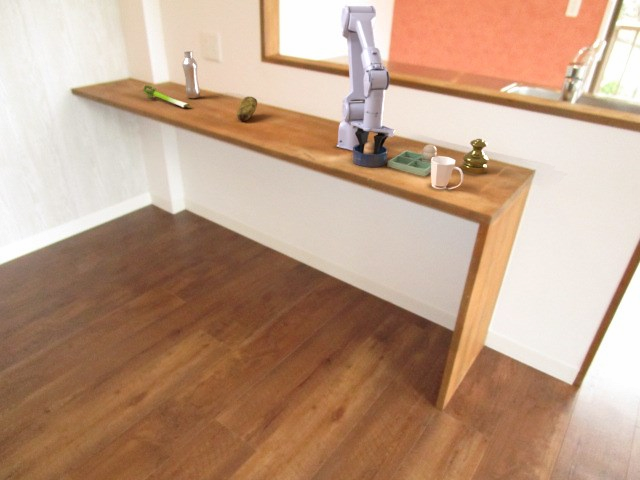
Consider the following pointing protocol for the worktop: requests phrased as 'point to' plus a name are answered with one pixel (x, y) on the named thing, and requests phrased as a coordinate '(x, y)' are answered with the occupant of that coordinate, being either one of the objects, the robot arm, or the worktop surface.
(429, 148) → the cream egg
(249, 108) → the potato
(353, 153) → the bowl
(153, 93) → the leek
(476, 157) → the gold decorative ornament
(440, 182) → the cup
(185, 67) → the plastic bottle
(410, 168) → the tray
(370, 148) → the brown egg
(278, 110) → the worktop surface
